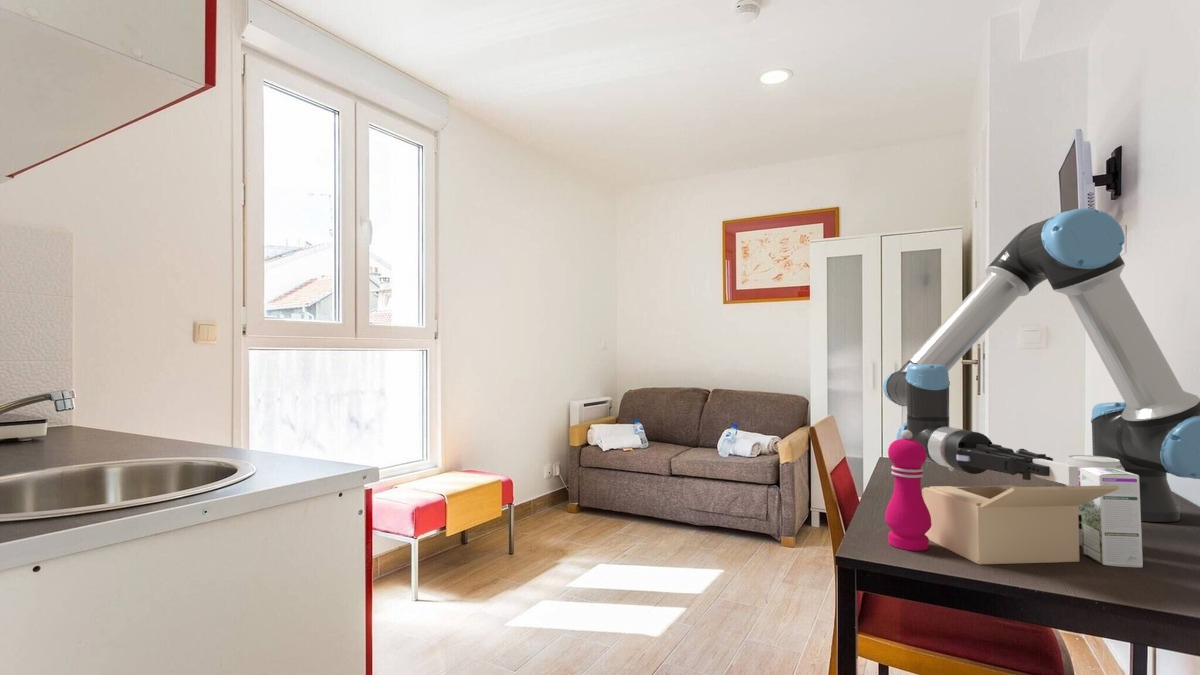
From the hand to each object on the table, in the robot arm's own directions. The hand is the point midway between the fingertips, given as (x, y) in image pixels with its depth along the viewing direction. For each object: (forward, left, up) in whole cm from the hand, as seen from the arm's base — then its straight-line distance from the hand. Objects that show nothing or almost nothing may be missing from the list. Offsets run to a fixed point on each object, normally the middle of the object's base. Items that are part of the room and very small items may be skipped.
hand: (1073, 475), depth 87 cm
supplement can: (-19, -17, -16) cm, 30 cm away
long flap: (0, -9, -6) cm, 11 cm away
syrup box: (-14, -9, -16) cm, 23 cm away
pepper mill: (+14, -19, -16) cm, 28 cm away
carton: (0, -16, -15) cm, 22 cm away
